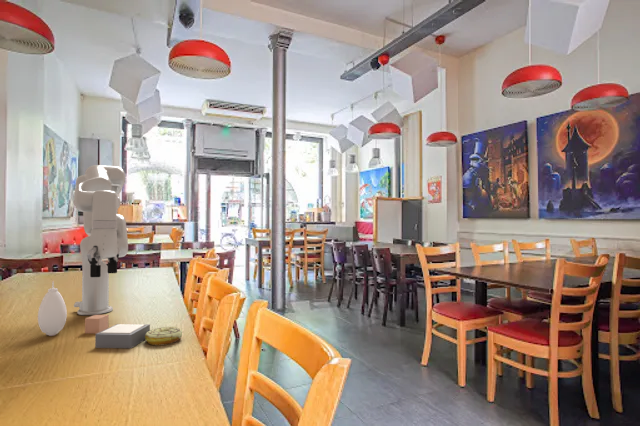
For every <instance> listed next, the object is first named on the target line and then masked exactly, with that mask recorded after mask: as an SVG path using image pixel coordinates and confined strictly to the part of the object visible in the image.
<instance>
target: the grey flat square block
mask: <svg viewBox="0 0 640 426" xmlns="http://www.w3.org/2000/svg"><path fill="white" fill-rule="evenodd" d="M150 330H151V324H145V323H144V324H142V323H139V324H138V323H136V324H135V323H131V324H129V323H122V324H121V323H117V324H114V325H112V326H110V327H108V329H106V330H103V331H101V332H99V333H94V334H95V337H94V338H95V339H94V341H95V344H94V346H95V349H97V348H98V349H132V348H133V347H136V346H137V345H138V344H141V343H142V342H144V341H146V339H145V335H146V333H147V332H148V331H150Z"/></svg>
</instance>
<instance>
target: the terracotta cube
mask: <svg viewBox="0 0 640 426" xmlns="http://www.w3.org/2000/svg"><path fill="white" fill-rule="evenodd" d="M109 319H110V318H109V314H97V315H89V317H88V316H87V317H85V319H84V333H85V334H97V333H99V332H101V331H103V330H106V329H108V328H110V327H109Z"/></svg>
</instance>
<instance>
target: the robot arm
mask: <svg viewBox="0 0 640 426" xmlns="http://www.w3.org/2000/svg"><path fill="white" fill-rule="evenodd" d="M125 182H126V174H125V171H124V169H123V168H122V167H120V166H115V165H104V164H94V165H90V166H88V167H87V168H86V170H85V172H84V174H82V175H79V176H78V177H77V178H76V180H75V189H74V192H73V193H74V194H73V202H74V206H75V208H76V210H77V211H79V212H82V216H83V217H82V218H83V229H84V232H85V234H86V235H88V236H85V237H84V238H82V239H81V241H80V243H79V248H80V255H81V264H82V265H81V266H82V267H81V268H82V278H81V279H82V281H81V283H82V284H81V285H82V288H81V289H82V290H81V300H82V301H75V303H74V304H73V307H74V308H79V309H77V314H78V315H79V316H93V315H104V314H106V313H110V312H112V311H113V309H114V308H113V306H111V305H109V303H110V302H109V301H110V297H109V296H110V295H109V292H110V290H109V289H110V287H109V285H110V284H109V283H110V274H117V273H118V262H119V258H123V257H125V256H127V254H128V253H129V252H128V251H129V241H128V239H129V238H128V231H127V230H128V229H127V222H126V219H125V216H124V215H122V214H119V213H118V209H119V208H120V206H121V199H120V196H119V194H120V193H121V192H122V190H123V188H124V185H125V184H126V183H125ZM104 259H106V260H108V262H107V263H105V262H104V261H103V260H104Z"/></svg>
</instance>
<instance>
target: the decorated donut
mask: <svg viewBox="0 0 640 426" xmlns="http://www.w3.org/2000/svg"><path fill="white" fill-rule="evenodd" d="M182 337H183V331H182V329H181V328H179V327H177V326H161V327H157V328H153V329H150V331H148V332H147V333H146V335H145V341H146V342H147V344H148V345H151V346H162V345H163V346H164V345H169V344H170V345H171V344H173V343H176V342H177V341H179V340H180V339H181V338H182Z"/></svg>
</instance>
